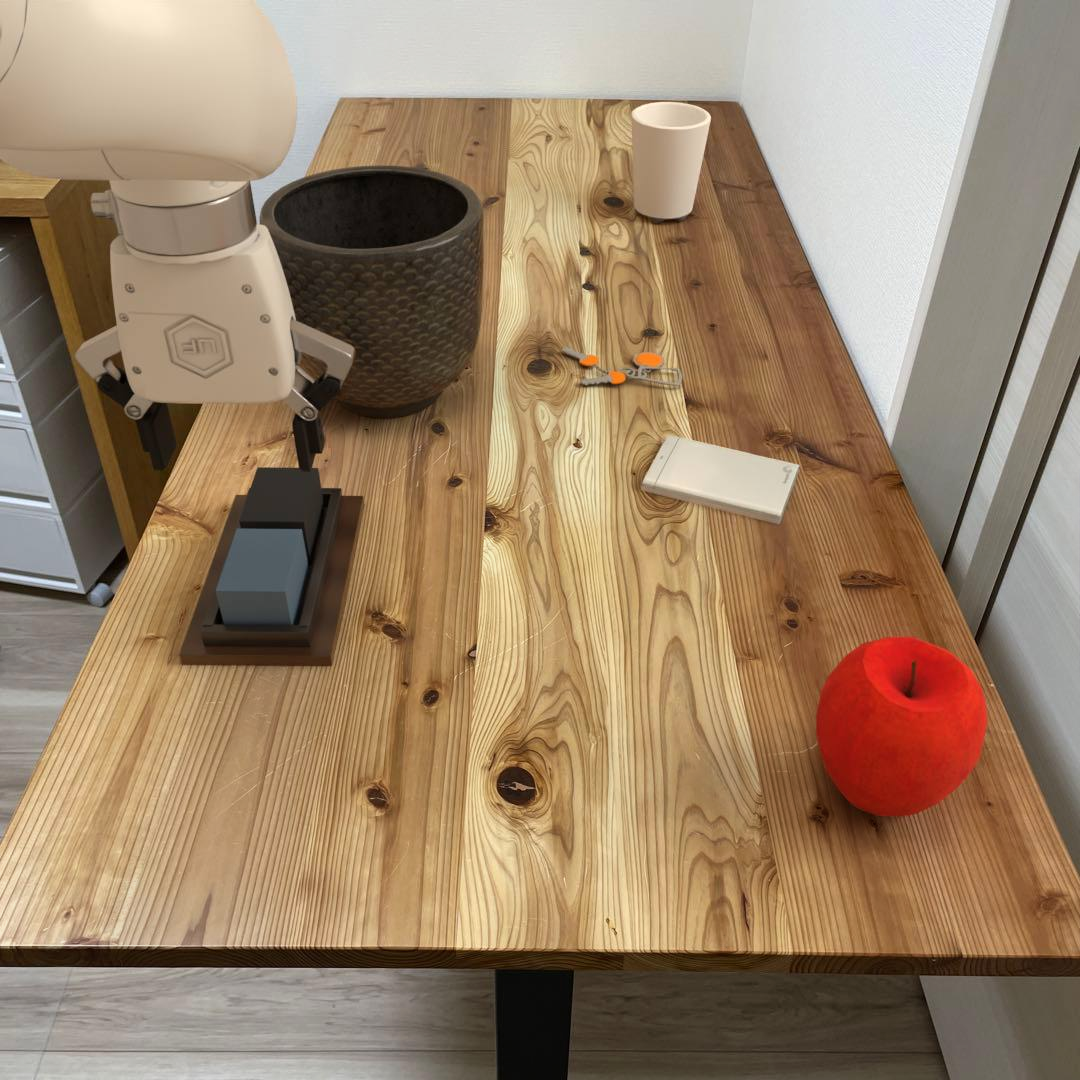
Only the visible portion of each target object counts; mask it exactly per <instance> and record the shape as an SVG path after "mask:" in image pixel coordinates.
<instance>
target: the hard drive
mask: <svg viewBox="0 0 1080 1080" xmlns="http://www.w3.org/2000/svg"><path fill="white" fill-rule="evenodd" d="M800 467H801V465H800V464H797V463H793V462H789V461H784V460H779V459H777V458H771V457H767V456H763V455H758V454H753V453H751V452H746V451H742V450H737V449H732V448H728V447H725V446H720V445H717V444H711V443H708V442H703V441H699V440H694V439H689V438H685V437H680V436H676V435H672V434H667V436H666V437H665V439H664V441H663V443H662V444H661V446H660V448H659V450H658V452H657V453H656V455H655V457H654V459H653V461H652V462H651V464H650V467H649V469H648V470H647V472H646V473H645V476H644V478H643V480H642V482H641V486H640V491H642V492H646V493H650V494H654V495H658V496H661V497H666V498H670V499H673V500H677V501H678V500H679V501H682V502H686V503H690V504H693V505H699V506H702V507H707V508H710V509H714V510H718V511H723V512H725V513H730V514H735V515H739V516H743V517H746V518H751V519H755V520H760V521H763V522H767V523H770V524H774V525H775V524H776V525H781V522H782V519H783V516H784V514H785V511H786V508H787V506H788V503H789V500H790V497H791V494H792V493H793V492H792V491H793V489H794V486H795V484H796V481H797V477H798V475H799V473H800Z"/></svg>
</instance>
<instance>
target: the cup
mask: <svg viewBox="0 0 1080 1080" xmlns="http://www.w3.org/2000/svg"><path fill="white" fill-rule="evenodd" d="M630 115H631V116H630V117H631V118H630V119H631V120H630V121H631V150H632V151H631V153H632V187H633V188H632V189H633V208H634V212H635V215H636V216H638V217H642V218H643V217H646V218H648V219H649V220H650V221H651V222H652V223H654V224H662V223H664V222H665V221H667V220H672V221H675V222H677V223H681V222H684V221H685V220H686V218H687V217H688V216H689V215H690V214H691V212H692V211H693V208H694V204H695V199H696V194H697V189H698V184H699V180H700V174H701V170H702V164H703V160H704V155H705V149H706V146H707V140H708V135H709V131H710V126H711V122H712V121H711V120H712V116H711V114H710V113H709V112H708V111H707V110H705V109H704V108H702V107H700V106H698V105H694V104H689V103H684V102H676V101H675V102H674V101H658V102H657V101H656V102H655V101H654V102H649V103H645V104H642V105H640V106H637V107H636V108H634V109H633V110H632V111H631V114H630Z"/></svg>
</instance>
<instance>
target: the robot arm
mask: <svg viewBox="0 0 1080 1080" xmlns="http://www.w3.org/2000/svg"><path fill="white" fill-rule="evenodd" d="M297 99H298V98H297V87H296V83H295V78H294V73H293V69H292V66H291V62H290V59H289V57H288V54H287V51H286V48H285V46H284V44H283V42H282V40H281V38H280V35H279V34H278V32H277V30H276V29H275V27H274V25H273V24H272V22H271V20H270V17H268V15H266V13H265V12H264V10H263V9H262V8H261V6H260V5H259V4H258V2H257V1H256V0H0V161H2V162H4V163H5V164H6V165H8V166H10V167H11V168H14V169H16V170H17V171H19V172H22V173H25V174H27V175H31V176H34V177H38V178H39V177H40V178H44V179H45V178H46V179H53V180H66V181H109V185H110V189H107V190H105V191H104V192H93V193H91V196H90V207H91V211H92V214H93V216H95V217H96V218H97V217H98V218H107V219H108V220H113V221H114V223H115V225H116V230H117V233H118V235H117V236H116V237H115V238H114V239H113V240H112V241H111V243H110V245H109V247H110V248H109V250H110V251H109V257H110V258H109V262H110V278H111V279H110V280H111V289H112V298H113V307H114V308H113V309H114V315H115V321H116V322H115V323H116V325H114V326H112V327H111V328H109V329H107V330H105V331H103V332H101V333H99V334H97V335H95V336H94V337H91V338H89V339H87V340H86V341H83V342H82V344H81V345H80V347H79V348H78V349H77V351H76V352H75V354H74V359H75V360H76V362H77V364H79V366H80V367H81V368H83V370H84V372H85V373H86V374H87V375H88V376H89V377H90V378H91V379H92V380H94V381H95V382H96V383H97V388H98V389H99V391H100V392H101V393H103V394H104V395H105V396H107V397H108V398H109V399H111V400H113V401H114V402H116V403H117V404H118V405H119V406H121V407H122V408H123V412H124V414H125V415H126V416H127V417H128V418H129V419H131V420H135V421H134V422H135V424H136V428H137V433H138V436H139V439H140V444H141V448H142V450H143V452H144V453H149V457H150V461H151V464H152V468H153V470H154V471H164V470H165V469H167V468H168V466H169V464H170V461H171V459H172V457H173V455H174V453H175V450H176V448H177V439H176V435H175V431H174V428H173V422H172V418H171V414H170V411H169V406H168V404H189V405H190V404H192V405H193V404H194V405H197V404H201V405H263V404H264V405H266V404H274V403H279V402H280V401H281V402H282V403H284V404H285V405H286V406H287V407H288V408H290V410H291V411H293V412H294V416H293V419H292V425H291V426H292V432H293V439H294V445H295V451H296V457H297V464H298V468H299V469H300V470H302V471H303V472H311V469H312V468H313V466H314V462H315V459H316V455H321V454H323V452H324V448H325V436H324V435H325V434H324V427H323V419H322V414H321V411H322V410H323V409H324V408H325V407H326V406H327V405H328V404H329V403H330V402H331V401H333V399H335V398H334V397H335V396H336V395H337V394H338V393H339V391H340V388H341V386H342V384H343V382H344V380H345V378H346V376H347V374H348V372H349V370H350V368H351V366H352V363H353V360H354V356H355V349H354V347H353V346H351V345H350V344H347V343H345V342H343V341H341V340H338V339H336V338H334V337H332V336H329V335H327V334H325V333H323V332H321V331H318V330H316V329H314V328H312V327H309V326H307V325H305V324H303V323H300V322H298V321H296V318H295V314H294V309H293V305H292V301H291V297H290V293H289V289H288V285H287V282H286V279H285V275H284V272H283V269H282V266H281V263H280V260H279V257H278V254H277V251H276V248H275V246H274V243H273V240H272V238H271V236H270V233H269V231H268V229H267V227H266V226H265V225H262V224H260V223H258V222H257V215H256V208H255V203H254V202H255V201H254V197H253V190H252V183H251V182H253V181H258V180H259V181H260V180H263V179H265V178H266V177H268V176H270V175H272V174H274V173H275V171H277V169H278V168H280V166H281V165H282V164H283V162H284V161H285V160H286V157H287V156H288V154H289V151H290V150H291V146H292V144H293V141H294V136H295V134H296V127H297V118H298V100H297ZM120 352H121V358H122V363H123V366H124V369H122V368H121V367H119V366H118V365H115V364H114V361H113V360H112V359H111V357H113V356H115V355H117V354H119V353H120ZM301 352H303V353H305V354H308V355H310V356H312V357H314V358H317V359H319V360H321V361H323V362H325V363H326V364H327V366H328V368H327V370H326V371H325V372H324V373H323V374H322V375H321V376H320V377H319V378H318V379H317V380H316V381H315V380H314V379H313V378H312V377H311V376H310V375H309V374H307V373H306V372H305V371H304V370H303V369H302V368H301V367H300V366H299V364H300V362H301Z"/></svg>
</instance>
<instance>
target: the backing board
mask: <svg viewBox="0 0 1080 1080" xmlns="http://www.w3.org/2000/svg"><path fill="white" fill-rule="evenodd" d="M250 488H251V486H249V487H248V490H247V492H246V494H235V495H234V499H233V501H232V504H231V507H230V510H229V512H228V516H227V519H226V521H225V523H224V528H223V530H222V532H221V535H220V538H219V541H218V543H217V546H216V549H215V552H214V555H213V558H212V560H211V563H210V566H209V569H208V571H207V574H206V577H205V580H204V583H203V586H202V589H201V591H200V594H199V597H198V599H197V603H196V605H195V609H194V611H193V614H192V617H191V620H190V622H189V625H188V628H187V631H186V633H185V637H184V640H183V642H182V645H181V648H180V650H179V651H180V652H179V654H178V656H179V661H180V664H181V665H198V666H199V665H200V666H201V665H205V666H206V665H208V666H210V665H211V666H212V665H213V666H215V665H216V666H217V665H219V666H220V665H221V666H227V665H228V666H332V665H333V663H334V659H335V653H336V648H337V643H338V640H339V639H338V638H339V634H340V628H341V623H342V618H343V613H344V608H345V604H346V599H347V594H348V588H349V584H350V579H351V574H352V569H353V564H354V559H355V554H356V549H357V544H358V543H357V542H358V539H359V533H360V530H361V525H362V520H363V519H362V518H363V514H364V510H365V505H366V503H365V498H364V495H343V489H342V488H341V487H321V489H322V496H323V502H324V509H325V511H324V515H323V519H322V523H321V527H320V532H319V536H318V540H317V544H316V548H315V552H314V556H313V560H312V564H311V565H308V567H309V576H308V580H307V585H306V589H305V593H304V597H303V601H302V605H301V609H300V613H299V617H298V621H297V625H224V623H223V619H222V615H221V611H220V607H219V603H218V599H217V595H216V588H217V585H218V582H219V579H220V576H221V573H222V570H223V567H224V564H225V561H226V558H227V555H228V553H229V550H230V547H231V544H232V541H233V538H234V535H235V532H236V529H241V527H240V523H239V520H240V517H241V514H242V511H243V508H244V505H245V502H246V499H247V497H248V494H249V491H250Z"/></svg>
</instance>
